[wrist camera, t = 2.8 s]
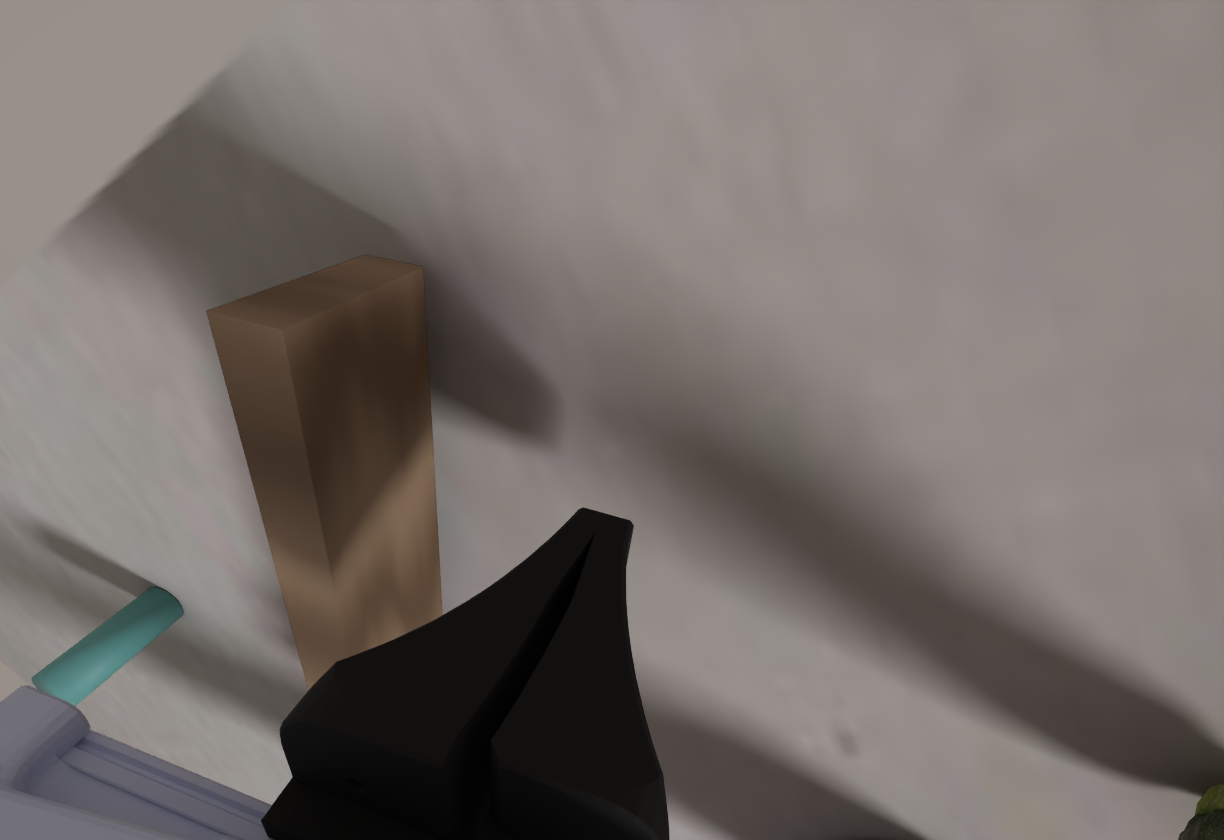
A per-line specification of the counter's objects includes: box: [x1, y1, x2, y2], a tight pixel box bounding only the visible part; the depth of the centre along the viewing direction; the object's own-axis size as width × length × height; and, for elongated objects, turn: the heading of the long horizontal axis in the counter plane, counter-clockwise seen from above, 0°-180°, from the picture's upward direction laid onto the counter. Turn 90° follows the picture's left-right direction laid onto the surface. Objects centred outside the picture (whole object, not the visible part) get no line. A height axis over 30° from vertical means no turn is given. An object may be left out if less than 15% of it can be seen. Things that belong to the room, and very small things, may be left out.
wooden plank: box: [206, 255, 443, 690], centre depth 17 cm, size 21×2×6 cm, turn 173°
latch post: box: [32, 587, 183, 706], centre depth 25 cm, size 2×2×5 cm
